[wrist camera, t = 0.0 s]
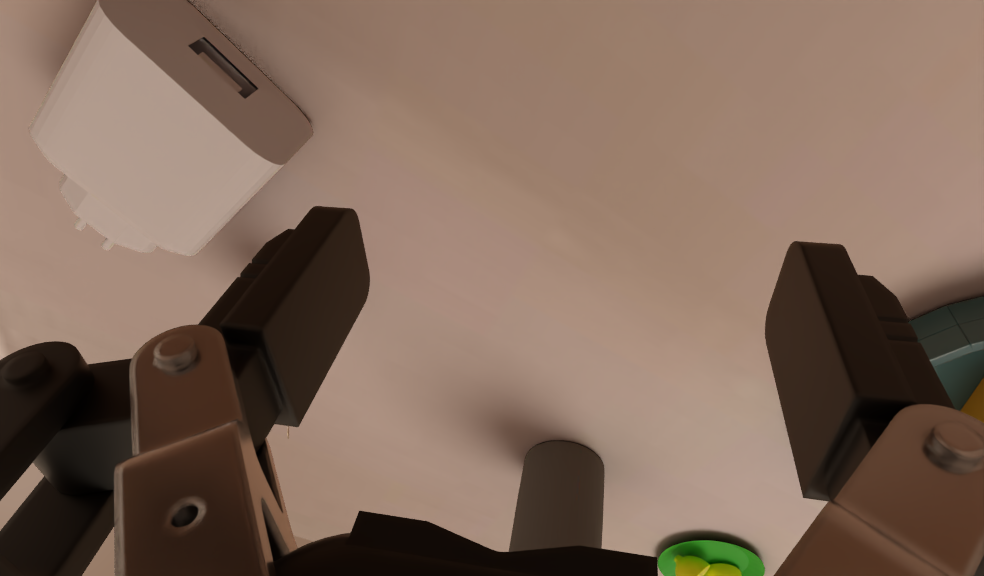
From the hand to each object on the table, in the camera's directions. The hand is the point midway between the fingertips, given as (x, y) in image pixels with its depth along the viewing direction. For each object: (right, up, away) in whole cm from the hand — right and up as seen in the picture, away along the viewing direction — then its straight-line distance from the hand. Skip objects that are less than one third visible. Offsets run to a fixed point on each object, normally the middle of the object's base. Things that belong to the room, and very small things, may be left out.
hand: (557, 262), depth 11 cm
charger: (-18, +7, +21) cm, 29 cm away
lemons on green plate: (+16, -22, +37) cm, 46 cm away
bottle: (+4, -13, +33) cm, 35 cm away
